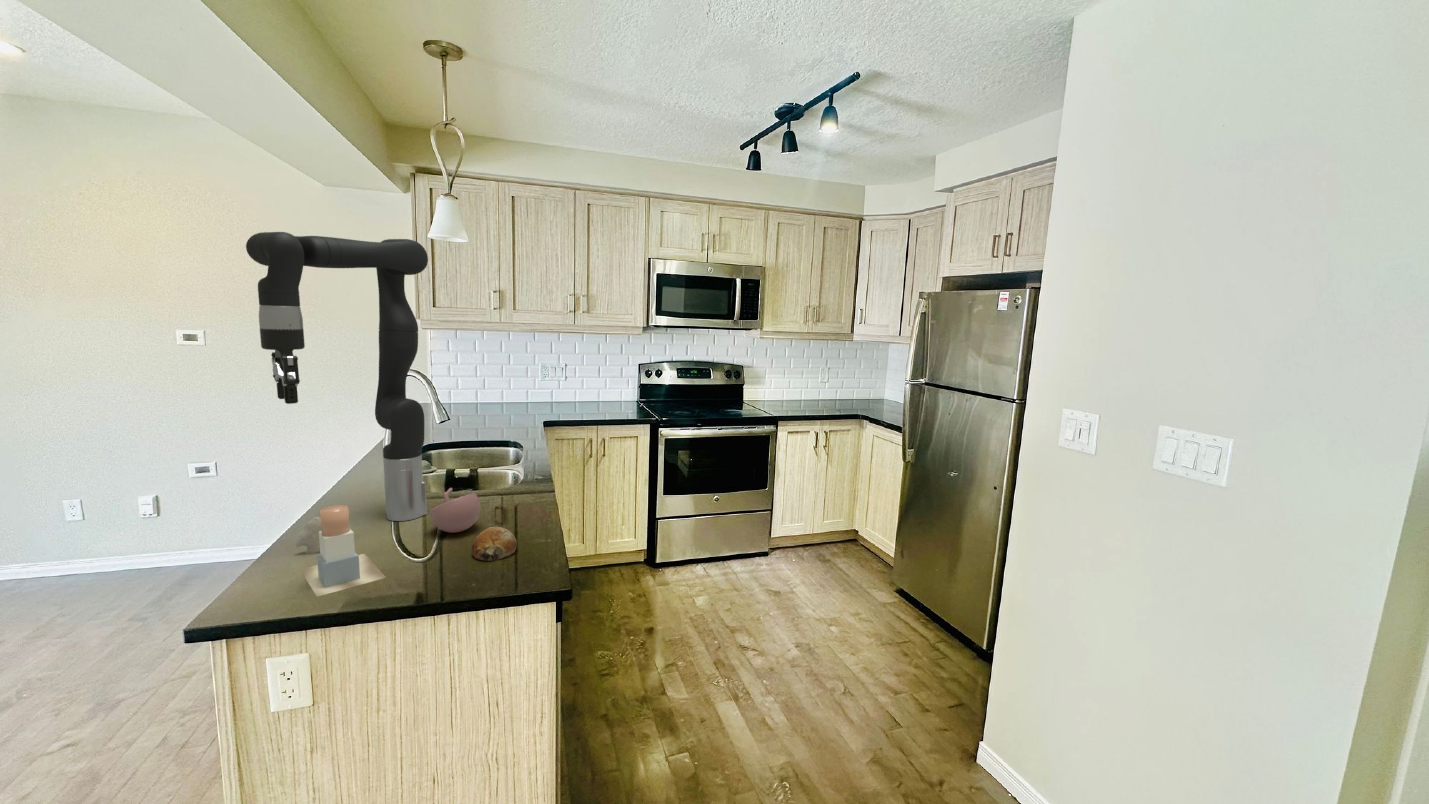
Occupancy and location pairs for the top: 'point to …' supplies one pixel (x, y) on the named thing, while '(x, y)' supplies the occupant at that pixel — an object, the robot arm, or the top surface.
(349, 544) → the tower upper
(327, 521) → the peach cylinder
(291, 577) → the top surface
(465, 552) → the top surface
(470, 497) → the mortar and pestle
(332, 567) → the tower lower
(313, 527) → the arrowhead
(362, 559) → the board
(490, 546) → the bread roll
